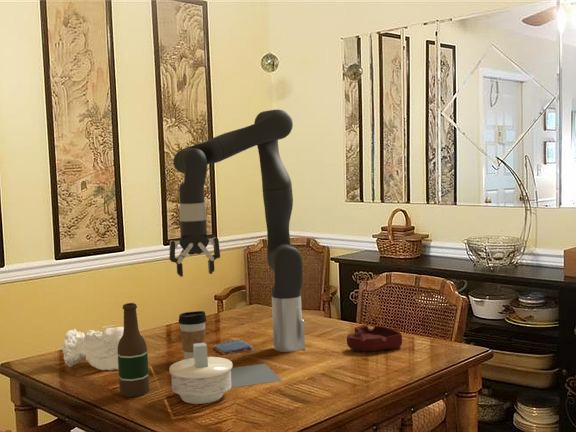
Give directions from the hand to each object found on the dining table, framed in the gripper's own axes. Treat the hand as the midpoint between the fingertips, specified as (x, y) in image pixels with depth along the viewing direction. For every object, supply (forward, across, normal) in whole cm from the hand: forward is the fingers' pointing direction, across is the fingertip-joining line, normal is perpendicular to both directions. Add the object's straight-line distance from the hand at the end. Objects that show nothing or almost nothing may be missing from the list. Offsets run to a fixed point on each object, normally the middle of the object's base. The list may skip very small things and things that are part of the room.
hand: (195, 274), depth 203 cm
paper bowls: (+28, +4, +24) cm, 37 cm away
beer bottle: (+28, +20, +12) cm, 37 cm away
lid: (+20, +4, +24) cm, 32 cm away
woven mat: (+29, -14, -18) cm, 37 cm away
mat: (+28, -10, +12) cm, 32 cm away
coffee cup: (+28, 0, -10) cm, 30 cm away
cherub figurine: (+28, +27, -20) cm, 44 cm away
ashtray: (+29, -56, -1) cm, 63 cm away
